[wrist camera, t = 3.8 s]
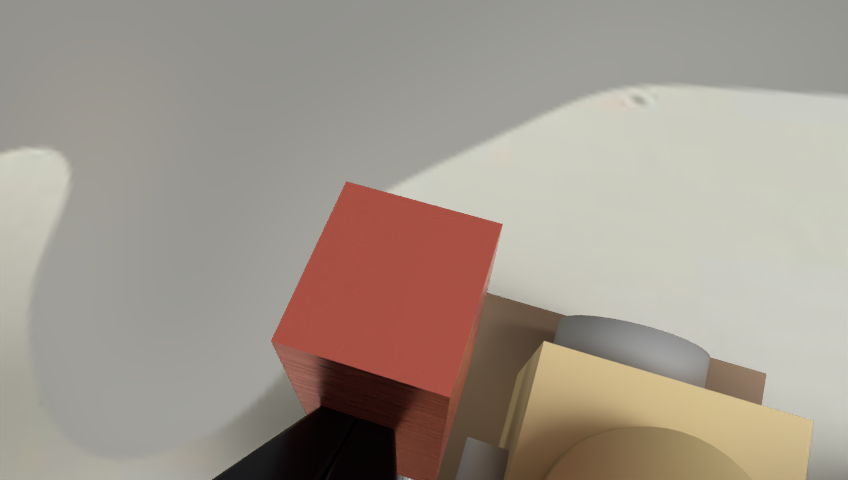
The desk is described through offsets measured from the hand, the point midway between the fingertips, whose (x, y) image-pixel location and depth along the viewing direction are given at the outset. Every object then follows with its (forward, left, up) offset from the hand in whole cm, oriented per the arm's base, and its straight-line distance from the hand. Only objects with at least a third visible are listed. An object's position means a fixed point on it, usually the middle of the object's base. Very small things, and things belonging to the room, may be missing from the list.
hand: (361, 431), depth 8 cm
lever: (-1, 0, -7) cm, 7 cm away
